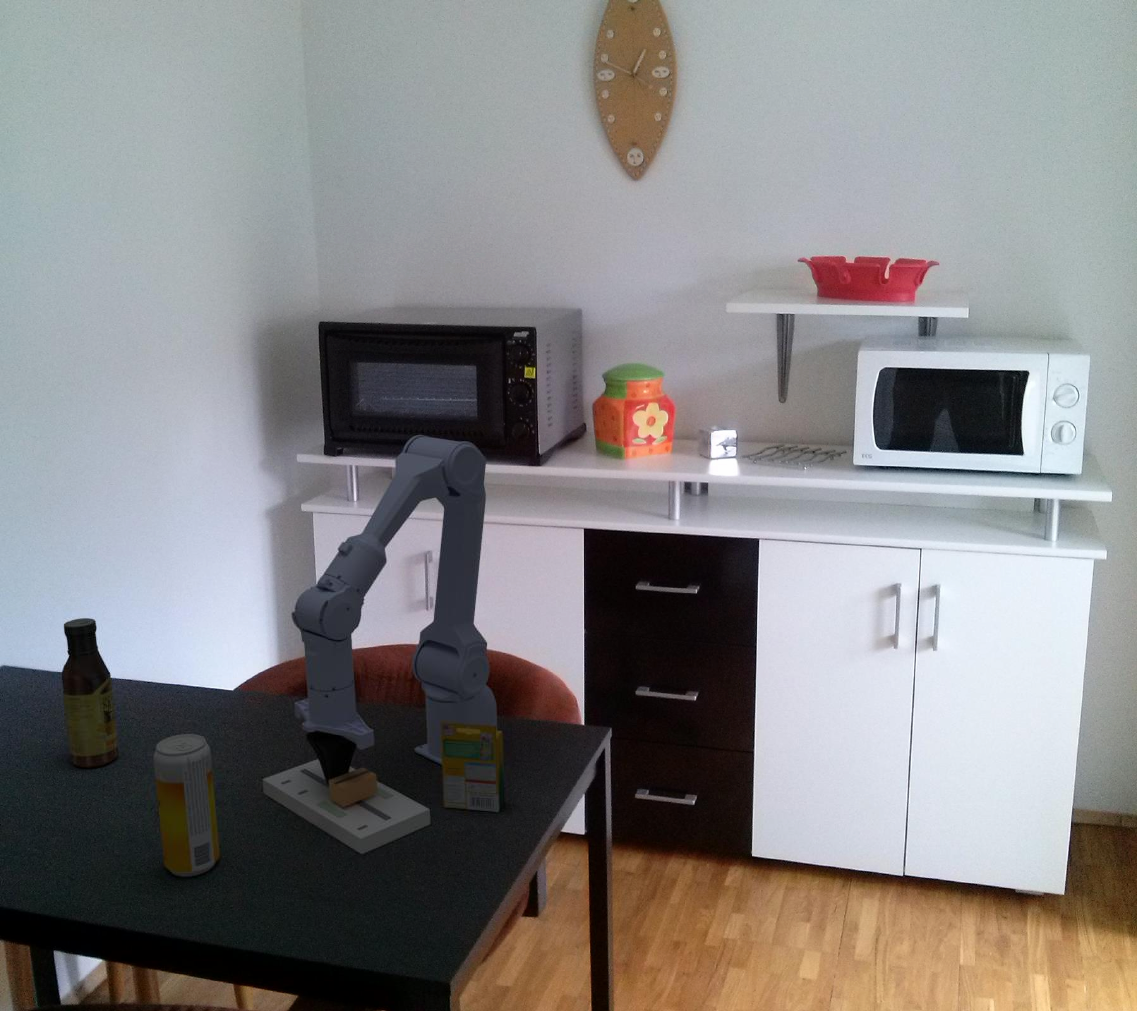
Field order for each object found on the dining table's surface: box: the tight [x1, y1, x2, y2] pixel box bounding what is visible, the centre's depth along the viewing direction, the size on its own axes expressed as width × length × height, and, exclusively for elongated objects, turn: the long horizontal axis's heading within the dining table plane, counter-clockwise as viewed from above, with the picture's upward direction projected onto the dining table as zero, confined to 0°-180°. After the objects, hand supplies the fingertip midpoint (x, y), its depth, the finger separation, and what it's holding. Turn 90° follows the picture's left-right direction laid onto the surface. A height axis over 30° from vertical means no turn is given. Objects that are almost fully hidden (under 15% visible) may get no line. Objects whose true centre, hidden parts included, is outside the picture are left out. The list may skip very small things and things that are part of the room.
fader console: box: [262, 758, 431, 855], centre depth 149 cm, size 10×22×2 cm, turn 44°
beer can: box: [153, 733, 220, 877], centre depth 135 cm, size 6×6×15 cm
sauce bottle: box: [61, 617, 119, 768], centre depth 162 cm, size 6×6×20 cm
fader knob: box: [329, 767, 378, 807], centre depth 147 cm, size 5×3×3 cm, turn 134°
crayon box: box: [441, 722, 506, 813], centre depth 148 cm, size 7×3×12 cm, turn 78°
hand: (337, 784), depth 150 cm, fingers closed
